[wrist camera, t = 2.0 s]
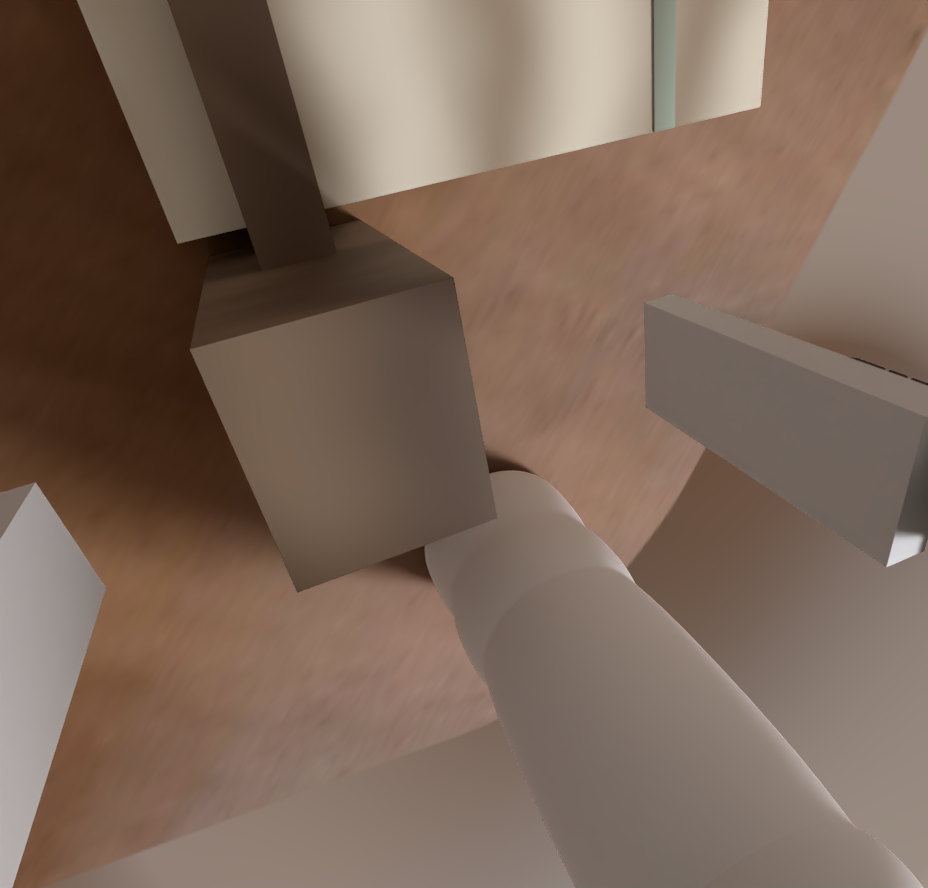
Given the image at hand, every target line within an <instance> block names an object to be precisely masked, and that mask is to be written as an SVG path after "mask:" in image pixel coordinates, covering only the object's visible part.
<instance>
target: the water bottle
mask: <svg viewBox="0 0 928 888" xmlns="http://www.w3.org/2000/svg"><path fill="white" fill-rule="evenodd" d="M489 475H490V480H491V486H492V491H493V497H494V502H495V508H496V513H497V519H495V520H492V521H489V522H487V523H484V524H481V525H479V526H476V527H473V528H470V529H468V530H465V531H462V532H460V533H457V534H454V535H452V536H449V537H446V538H443V539H441V540H438V541H435V542H433V543H430V544H427V545H425V559H426V564H427V568H428V571H429V573H430V576H431V578H432V580H433V582H434V585H435V587H436V589H437V591H438V592H439V594H440V596H441V598H442V600H443V601H444V603H445V605H446V606H447V608H448V609H449V611H450V612H451V614H452V615H453V616H454V620H455V624H456V628H457V631H458V634H459V637H460V640H461V642H462V644H463V647H464V649H465V651H466V653H467V655H468V657H469V659H470V661H471V663H472V665H473V666H474V668H475V670H476V671H477V673H478V674H479V675H480V677H481V678H482V679H483V681H484V682H485V683H486V684H487V685H488V688H489V691H490V694H491V697H492V700H493V703H494V706H495V709H496V712H497V715H498V717H499V720H500V723H501V725H502V728H503V730H504V733H505V735H506V738H507V740H508V743H509V745H510V747H511V750H512V752H513V755H514V757H515V759H516V762H517V764H518V766H519V768H520V771H521V773H522V775H523V778H524V780H525V782H526V784H527V787H528V789H529V791H530V793H531V795H532V798H533V800H534V802H535V804H536V806H537V809H538V811H539V813H540V815H541V817H542V820H543V821H544V824H545V826H546V828H547V830H548V832H549V834H550V837H551V839H552V841H553V843H554V845H555V847H556V849H557V851H558V853H559V855H560V857H561V860H562V862H563V864H564V866H565V868H566V870H567V872H568V874H569V876H570V878H571V880H572V882H573V883H574V886H575V888H923V886H922V885H921V884H920V882H919V881H918V880H917V879H916V877H915V876H914V875H913V874H912V873H911V871H910V870H909V869H908V868H907V867H906V866H905V865H904V864H903V863H902V862H901V861H900V860H899V859H898V858H897V857H896V856H895V855H894V854H893V853H892V852H891V851H890V850H889V849H888V848H887V847H885V846H884V845H883V844H882V843H881V842H879V841H878V840H876V839H875V838H874V837H872V836H871V835H869V834H868V833H866V832H864V831H862V830H861V829H859V828H856V827H855V826H854V825H853V824H852V822H851V821H850V820H849V819H848V817H847V816H846V814H845V813H844V812H843V810H842V809H841V808H840V807H839V805H838V804H837V803H836V802H835V800H834V799H833V798H832V797H831V795H830V794H829V792H828V791H827V790H826V789H825V787H824V786H823V785H822V784H821V782H820V781H819V780H818V778H817V777H816V776H815V775H814V774H813V772H812V771H811V770H810V769H809V768H808V766H807V765H806V764H805V762H804V761H803V760H802V759H801V758H800V756H799V755H798V754H797V753H796V752H795V750H794V749H793V748H792V747H791V746H790V745H789V743H788V742H787V741H786V740H785V739H784V737H783V736H782V735H781V734H780V733H779V732H778V730H777V729H776V728H775V727H774V726H773V725H772V724H771V723H770V722H769V720H768V719H767V718H766V717H765V716H764V715H763V714H762V712H761V711H760V710H759V709H758V708H757V707H756V706H755V705H754V703H753V702H752V701H751V700H750V699H749V698H748V697H747V696H746V695H745V693H744V692H743V691H742V690H741V689H740V688H739V687H738V686H737V685H736V684H735V683H734V681H733V680H732V679H731V678H730V677H729V676H728V675H727V674H726V673H725V672H724V671H723V669H722V668H721V667H720V666H719V665H718V664H717V663H716V662H715V661H714V660H713V659H712V658H711V657H710V656H709V655H708V654H707V652H706V651H705V650H703V648H702V647H701V646H700V645H699V644H698V643H697V642H696V641H695V640H694V639H693V638H692V637H691V636H690V635H689V634H688V633H687V632H686V631H685V630H684V629H683V628H682V627H681V625H679V624H678V623H677V622H676V621H675V620H674V619H673V618H672V617H671V616H670V615H669V614H668V613H667V612H666V611H665V610H664V609H663V608H662V607H661V606H660V605H659V604H658V603H656V602H655V601H654V600H653V599H652V598H651V597H650V596H649V595H648V594H647V593H645V592H644V591H643V590H642V589H641V588H640V587H639V586H637V585H636V584H635V583H634V580H633V579H632V577H631V575H630V573H629V572H628V570H627V569H626V567H625V566H624V564H623V563H622V562H621V560H620V559H619V558H618V557H617V555H616V554H615V553H614V552H613V551H612V550H611V549H610V548H609V547H608V546H607V545H606V544H605V542H603V541H602V540H601V539H600V538H599V537H598V536H597V535H596V534H594V533H593V532H592V531H591V530H589V529H588V528H586V527H585V525H584V524H583V522H582V520H581V519H580V517H579V516H578V514H577V513H576V512H575V510H574V509H573V508H572V507H571V505H570V504H569V503H568V502H567V501H566V499H565V498H564V497H563V496H562V495H561V494H560V493H559V492H558V491H557V490H556V489H555V488H554V487H553V486H552V485H551V484H550V483H548V482H547V481H546V480H544V479H542V478H541V477H539V476H537V475H534V474H531V473H528V472H523V471H514V470H510V471H499V472H494V473H490V474H489Z"/></svg>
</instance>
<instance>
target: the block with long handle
mask: <svg viewBox="0 0 928 888" xmlns="http://www.w3.org/2000/svg"><path fill="white" fill-rule="evenodd" d="M167 1H168V4H169V7H170V10H171V13H172V15H173V18H174V21H175V24H176V27H177V30H178V33H179V36H180V38H181V41H182V44H183V47H184V50H185V53H186V56H187V58H188V61H189V64H190V67H191V70H192V73H193V76H194V78H195V81H196V84H197V87H198V90H199V93H200V96H201V98H202V101H203V104H204V107H205V110H206V113H207V116H208V118H209V121H210V124H211V127H212V130H213V133H214V136H215V138H216V141H217V144H218V147H219V150H220V153H221V156H222V158H223V161H224V164H225V167H226V170H227V173H228V176H229V178H230V181H231V184H232V187H233V190H234V193H235V196H236V199H237V201H238V204H239V207H240V210H241V213H242V216H243V219H244V221H245V224H246V227H247V230H248V233H249V236H250V239H251V241H252V244H253V245H252V246H248V247H244V248H240V249H236V250H232V251H228V252H223V253H219V254H215V255H211V256H209V259H208V264H207V269H206V273H205V278H204V283H203V288H202V293H201V297H200V302H199V307H198V312H197V317H196V321H195V326H194V331H193V336H192V341H191V346H190V351H191V354H192V356H193V358H194V360H195V363H196V365H197V367H198V369H199V372H200V374H201V376H202V378H203V381H204V383H205V385H206V387H207V390H208V392H209V394H210V396H211V399H212V401H213V403H214V405H215V408H216V410H217V412H218V414H219V417H220V419H221V421H222V424H223V426H224V428H225V430H226V433H227V435H228V437H229V439H230V442H231V444H232V446H233V448H234V451H235V453H236V455H237V457H238V460H239V462H240V464H241V466H242V469H243V471H244V473H245V475H246V478H247V480H248V482H249V484H250V487H251V489H252V491H253V493H254V496H255V498H256V500H257V502H258V505H259V507H260V509H261V511H262V514H263V516H264V518H265V520H266V523H267V525H268V527H269V529H270V532H271V534H272V536H273V539H274V541H275V543H276V545H277V548H278V550H279V552H280V554H281V557H282V559H283V561H284V563H285V566H286V568H287V570H288V572H289V575H290V577H291V579H292V581H293V584H294V586H295V588H296V590H297V592H300V591H303V590H305V589H308V588H311V587H314V586H316V585H319V584H322V583H324V582H327V581H330V580H333V579H335V578H338V577H341V576H343V575H346V574H349V573H351V572H354V571H357V570H360V569H362V568H365V567H368V566H370V565H373V564H376V563H379V562H381V561H384V560H387V559H389V558H392V557H395V556H397V555H400V554H403V553H406V552H408V551H411V550H414V549H416V548H419V547H422V546H424V545H427V544H430V543H433V542H435V541H438V540H441V539H443V538H446V537H449V536H452V535H454V534H457V533H460V532H462V531H465V530H468V529H470V528H473V527H476V526H479V525H481V524H484V523H487V522H489V521H492V520H495V519H497V513H496V508H495V502H494V497H493V491H492V486H491V480H490V475H489V469H488V464H487V458H486V453H485V447H484V442H483V437H482V431H481V426H480V420H479V415H478V409H477V404H476V398H475V393H474V387H473V382H472V376H471V371H470V365H469V360H468V355H467V349H466V344H465V338H464V333H463V327H462V322H461V316H460V311H459V305H458V300H457V294H456V289H455V283H454V278H453V277H452V276H450V275H448V274H447V273H445V272H443V271H442V270H440V269H439V268H437V267H435V266H434V265H432V264H431V263H429V262H427V261H426V260H424V259H422V258H421V257H419V256H418V255H416V254H414V253H413V252H411V251H410V250H408V249H406V248H405V247H403V246H401V245H400V244H398V243H397V242H395V241H393V240H392V239H390V238H389V237H387V236H385V235H384V234H382V233H380V232H379V231H377V230H376V229H374V228H372V227H371V226H369V225H368V224H366V223H364V222H363V221H361V220H356V221H352V222H348V223H343V224H339V225H335V226H331V227H330V226H329V222H328V219H327V215H326V212H325V208H324V205H323V201H322V197H321V194H320V190H319V187H318V183H317V179H316V176H315V172H314V169H313V165H312V162H311V158H310V154H309V151H308V147H307V144H306V140H305V137H304V133H303V129H302V126H301V122H300V119H299V115H298V111H297V108H296V104H295V101H294V97H293V94H292V90H291V86H290V83H289V79H288V76H287V72H286V68H285V65H284V61H283V58H282V54H281V51H280V47H279V43H278V40H277V36H276V33H275V29H274V26H273V22H272V18H271V15H270V11H269V8H268V4H267V0H167Z"/></svg>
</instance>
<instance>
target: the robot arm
mask: <svg viewBox="0 0 928 888" xmlns="http://www.w3.org/2000/svg"><path fill="white" fill-rule="evenodd" d="M644 327H645V387H646V407H647V408H648V409H650V410H651V411H653V412H654V413H656V414H657V415H659V416H660V417H662V418H663V419H665V420H666V421H668V422H669V423H671V424H672V425H674V426H675V427H677V428H678V429H680V430H681V431H683V432H684V433H686V434H687V435H689V436H690V437H692V438H693V439H695V440H696V441H698V442H699V443H701V444H702V445H704V446H705V447H707V448H708V449H710V450H711V451H713V452H714V453H716V454H717V455H719V456H720V457H722V458H723V459H725V460H726V461H728V462H729V463H731V464H732V465H734V466H735V467H737V468H738V469H740V470H741V471H743V472H744V473H746V474H747V475H749V476H750V477H752V478H753V479H755V480H756V481H758V482H759V483H761V484H762V485H764V486H765V487H767V488H768V489H770V490H771V491H773V492H775V493H776V494H777V495H779V496H780V497H782V498H784V499H785V500H786V501H788V502H789V503H791V504H792V505H794V506H795V507H797V508H798V509H800V510H801V511H803V512H804V513H806V514H807V515H809V516H810V517H812V518H813V519H815V520H816V521H818V522H819V523H821V524H822V525H824V526H825V527H827V528H829V529H830V530H831V531H833V532H834V533H836V534H837V535H839V536H840V537H842V538H844V539H845V540H846V541H848V542H849V543H851V544H852V545H854V546H855V547H857V548H858V549H860V550H861V551H863V552H864V553H866V554H867V555H869V556H870V557H872V558H873V559H875V560H876V561H878V562H879V563H881V564H882V565H884V566H885V567H888V566H890V565H893V564H895V563H897V562H900V561H902V560H904V559H906V558H908V557H911V556H913V555H916V554H918V553H920V552H923V551H924V549H925V546H926V542H927V539H928V383H925V382H922V381H919V380H917V379H914V378H912V379H908V378H907V376H906V375H903V374H900V373H897V372H894V371H891V370H889V371H886V370H885V368H883V367H880V366H878V365H875V364H872V363H869V362H866V361H864V360H861V359H858V358H851V357H846V356H844V355H841V354H838V353H835V352H833V351H830V350H827V349H824V348H821V347H819V346H816V345H813V344H810V343H808V342H805V341H802V340H799V339H796V338H793V337H791V336H788V335H785V334H782V333H780V332H777V331H774V330H771V329H769V328H766V327H763V326H760V325H757V324H755V323H752V322H749V321H746V320H744V319H741V318H738V317H735V316H732V315H730V314H727V313H724V312H721V311H718V310H716V309H713V308H710V307H707V306H705V305H702V304H699V303H696V302H693V301H691V300H688V299H685V298H682V297H680V296H677V295H674V294H671V295H668V296H664V297H661V298H658V299H654V300H651V301H647V302H644ZM105 590H106V587H105V585H104V584H103V582H102V581H101V579H100V578H99V576H98V575H97V573H96V572H95V570H94V569H93V567H92V566H91V564H90V563H89V561H88V560H87V558H86V557H85V555H84V554H83V552H82V551H81V549H80V548H79V546H78V545H77V543H76V542H75V540H74V539H73V537H72V536H71V534H70V533H69V531H68V530H67V528H66V527H65V526H64V524H63V523H62V521H61V520H60V518H59V517H58V515H57V514H56V512H55V511H54V509H53V508H52V506H51V505H50V503H49V502H48V500H47V499H46V497H45V496H44V494H43V493H42V491H41V490H40V488H39V487H38V485H37V484H36V482H35V483H31V484H28V485H24V486H21V487H18V488H14V489H11V490H8V491H4V492H1V493H0V888H12V887H13V884H14V881H15V878H16V874H17V871H18V868H19V865H20V862H21V858H22V855H23V852H24V849H25V846H26V842H27V839H28V836H29V833H30V830H31V826H32V823H33V820H34V817H35V814H36V810H37V807H38V804H39V801H40V798H41V794H42V791H43V788H44V785H45V782H46V778H47V775H48V772H49V769H50V766H51V762H52V759H53V756H54V753H55V750H56V746H57V743H58V740H59V737H60V734H61V730H62V727H63V724H64V721H65V718H66V714H67V711H68V708H69V705H70V702H71V699H72V695H73V692H74V689H75V686H76V683H77V679H78V676H79V673H80V670H81V667H82V663H83V660H84V657H85V654H86V651H87V647H88V644H89V641H90V638H91V635H92V631H93V628H94V625H95V622H96V619H97V615H98V612H99V609H100V606H101V603H102V599H103V596H104V593H105Z"/></svg>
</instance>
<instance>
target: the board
mask: <svg viewBox="0 0 928 888" xmlns="http://www.w3.org/2000/svg"><path fill="white" fill-rule="evenodd" d="M77 2H78V5H79V7H80V9H81V12H82V14H83V17H84V19H85V22H86V24H87V26H88V29H89V31H90V34H91V36H92V38H93V41H94V43H95V46H96V48H97V51H98V53H99V55H100V58H101V60H102V63H103V65H104V67H105V70H106V72H107V75H108V77H109V80H110V82H111V84H112V87H113V89H114V92H115V94H116V96H117V99H118V101H119V104H120V106H121V109H122V111H123V113H124V116H125V118H126V121H127V123H128V125H129V128H130V130H131V133H132V135H133V138H134V140H135V142H136V145H137V147H138V150H139V152H140V154H141V157H142V159H143V162H144V164H145V167H146V169H147V171H148V174H149V176H150V179H151V181H152V183H153V186H154V188H155V191H156V193H157V196H158V198H159V200H160V203H161V205H162V208H163V210H164V212H165V215H166V217H167V220H168V222H169V225H170V227H171V229H172V232H173V234H174V237H175V239H176V241H177V244H178V243H183V242H187V241H191V240H195V239H200V238H204V237H208V236H212V235H217V234H221V233H225V232H230V231H234V230H238V229H242V228H247V227H246V224H245V221H244V219H243V216H242V213H241V210H240V207H239V204H238V201H237V199H236V196H235V193H234V190H233V187H232V184H231V181H230V178H229V176H228V173H227V170H226V167H225V164H224V161H223V158H222V156H221V153H220V150H219V147H218V144H217V141H216V138H215V136H214V133H213V130H212V127H211V124H210V121H209V118H208V116H207V113H206V110H205V107H204V104H203V101H202V98H201V96H200V93H199V90H198V87H197V84H196V81H195V78H194V76H193V73H192V70H191V67H190V64H189V61H188V58H187V56H186V53H185V50H184V47H183V44H182V41H181V38H180V36H179V33H178V30H177V27H176V24H175V21H174V18H173V15H172V13H171V10H170V7H169V4H168V1H167V0H77ZM768 2H769V0H267V4H268V8H269V11H270V15H271V18H272V22H273V26H274V29H275V33H276V36H277V40H278V43H279V47H280V51H281V54H282V58H283V61H284V65H285V68H286V72H287V76H288V79H289V83H290V86H291V90H292V94H293V97H294V101H295V104H296V108H297V111H298V115H299V119H300V122H301V126H302V129H303V133H304V137H305V140H306V144H307V147H308V151H309V154H310V158H311V162H312V165H313V169H314V172H315V176H316V179H317V183H318V187H319V190H320V194H321V197H322V201H323V205H324V208H325V209H327V208H332V207H336V206H340V205H344V204H349V203H353V202H357V201H362V200H366V199H370V198H374V197H379V196H383V195H387V194H391V193H396V192H400V191H404V190H408V189H413V188H417V187H421V186H425V185H430V184H434V183H438V182H442V181H447V180H451V179H455V178H459V177H464V176H468V175H472V174H476V173H481V172H485V171H489V170H494V169H498V168H502V167H506V166H511V165H515V164H519V163H523V162H528V161H532V160H536V159H540V158H545V157H549V156H553V155H557V154H562V153H566V152H570V151H574V150H579V149H583V148H587V147H591V146H596V145H600V144H604V143H608V142H613V141H617V140H621V139H626V138H630V137H634V136H638V135H643V134H647V133H651V132H657V131H661V130H665V129H669V128H674V127H677V126H681V125H685V124H689V123H694V122H698V121H702V120H706V119H711V118H715V117H719V116H723V115H728V114H732V113H736V112H740V111H745V110H749V109H753V108H758V107H760V106H761V93H762V80H763V67H764V54H765V41H766V28H767V15H768Z"/></svg>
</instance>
